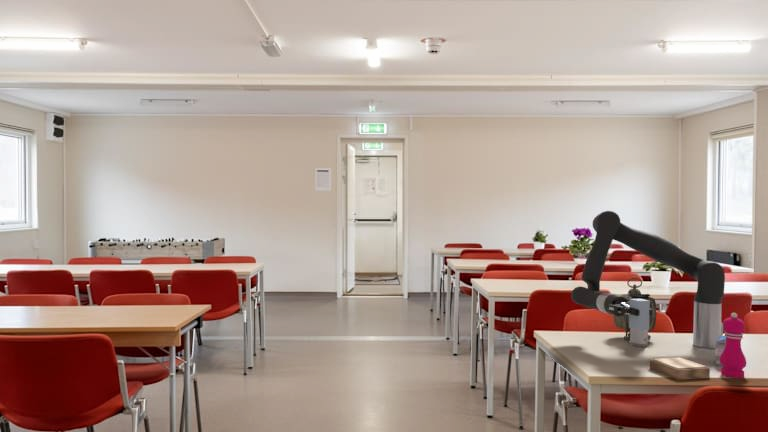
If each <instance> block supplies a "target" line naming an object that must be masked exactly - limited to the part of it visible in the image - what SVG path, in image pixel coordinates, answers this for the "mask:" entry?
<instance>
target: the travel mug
mask: <svg viewBox="0 0 768 432" xmlns="http://www.w3.org/2000/svg"><path fill="white" fill-rule="evenodd" d="M649 297H651V294H649V293H646V294H643V293H641V294H636V295H632V296H631V299H645V300H649ZM648 335H649V331H648V330H635V329H632V328H630V337H629V345H631V346H633V347H637V348H639V347H640V348H646V347H648V345H649V344H648V341H649V339H648Z"/></svg>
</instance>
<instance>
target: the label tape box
mask: <svg viewBox="0 0 768 432" xmlns="http://www.w3.org/2000/svg"><path fill="white" fill-rule="evenodd" d="M725 346H726V337H725V336H724V335H723V336H722V337H720V338H719V339H718V340H717V341H716V349H715V352H714V353H715V355H714V356H715V357H714V365H716V366H720V367H723V366H722V364H721V363H720V356H721V354H722V352H723V350H724V348H725Z"/></svg>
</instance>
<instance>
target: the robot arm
mask: <svg viewBox="0 0 768 432" xmlns="http://www.w3.org/2000/svg"><path fill="white" fill-rule="evenodd" d="M592 228H593V229H594V231H595V232H596V234H595V239H594V241H593V245H592V247H591V249H590V252H589V254H588V256H587V258H586V260H585V264H584V265H583V266H584V267H583V269H582V274H581V278H580V279H581V280H582V281H583V282H584V283H586V284H587V287H584V286H577V287H574V289H572V291H571V293H570V297H571V301H572V302H574V303H575V304H578V305H580V306H582V307H585V308H588V309H594V310H595V311H600V312H602V313H605V314H607V315H612V316H613V315H614V316H619V317H620V316H623V315H625V314H628V315H629V314H631V315H635V316H639V315H640V311H639V309H635V308H631V307H629V302H628V301H627V299H626V298H625V297H623V296H619V295H620V294H614V293H609V292H603V291H600V290H601V289H600V287H601V286H600V284H601V282H600V280H601V277H602V274H603V271H604V267H605V264H606V261H607V258H608V254H609V251H610V248H611V245H612V242H613V240H614V241H616V242H619V243H621V244H624V245H625V246H626V247H629V248H630V249H633V250H634V251H636V252H638V253H640V254H641V255H644V256H645V257H647V258H649V259H652V260H654V261H656V262H658V263H660V264H663V265H665V266H668V267H671V268H675V269H677V270H679V271H680V272H683V273H685V274H686V275H688V276H689V277H691V278H692V279H694V280H696V281H697V288H696V292H695V294H694V297H693V331H692V333H693V334H692V345H693V346H695V347H697V348H704V349H711V350H713V349H715V350H716V341H717V340H718V339H719V338H720V337H722V336H724V328H723V321H722V301H723V298H724V294H725V284H726V283H725V281H726V275H725V274H726V273H725V270H724V268H723V266H722V265H720V264H719V263H717V262H715V261H710V260H705V259H703V258H700V257H697V256H694V255H692V254H689V252H686V251H684V250H683V249H681V248H680V247H678V246H677V244H674V243H673V242H671V241H669V240H667V239H666V238H663V237H661V236H660V235H657V234H654V233H652V232H648V231H645V230H641V229H637V228H633V227H630V226H629V225H626V224H624V223H622V222H621V218H620V216H619V214H617V213H616V212H615V211H613V210H606V211H605V210H604V211H602V212H600V213H599V214H597V215H596V216H595V217H594V218H593V220H592ZM650 315H652V309H649V316H650Z"/></svg>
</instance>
